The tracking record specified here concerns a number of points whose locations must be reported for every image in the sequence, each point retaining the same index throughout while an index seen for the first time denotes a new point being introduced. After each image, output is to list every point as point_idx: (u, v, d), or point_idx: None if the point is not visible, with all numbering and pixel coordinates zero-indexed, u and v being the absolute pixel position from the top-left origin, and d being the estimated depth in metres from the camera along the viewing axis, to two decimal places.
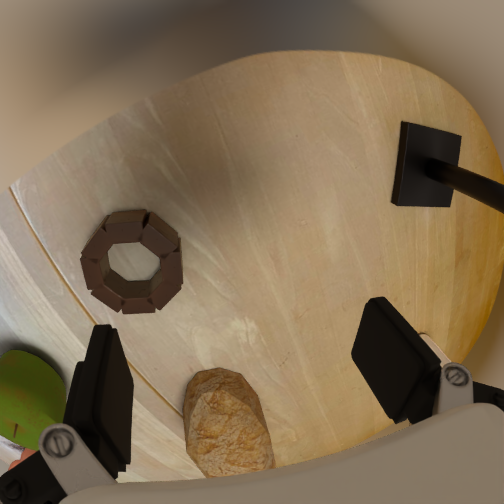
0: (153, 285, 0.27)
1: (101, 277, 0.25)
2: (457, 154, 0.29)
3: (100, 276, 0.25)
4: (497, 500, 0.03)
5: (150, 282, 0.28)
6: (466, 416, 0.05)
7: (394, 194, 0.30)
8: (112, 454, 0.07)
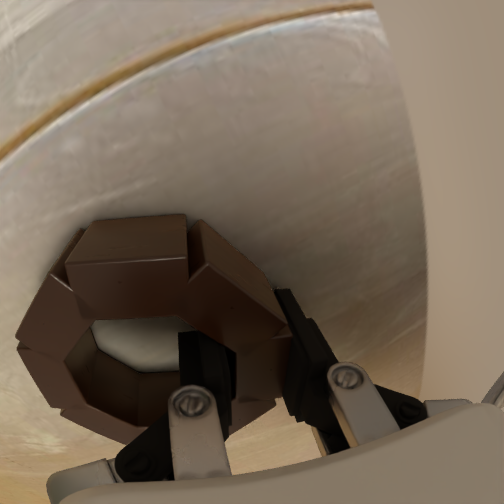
0: (108, 394, 0.10)
1: (119, 315, 0.08)
2: None
3: (123, 314, 0.08)
4: (497, 500, 0.03)
5: (99, 361, 0.11)
6: (466, 416, 0.05)
7: None
8: None
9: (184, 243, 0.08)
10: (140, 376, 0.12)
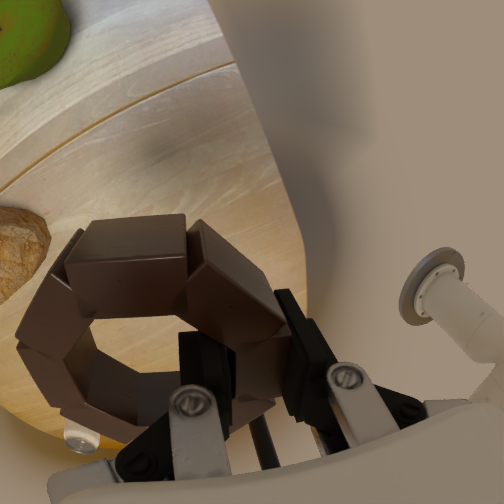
0: (108, 393, 0.10)
1: (118, 314, 0.08)
2: None
3: (122, 313, 0.08)
4: (497, 500, 0.03)
5: (98, 361, 0.11)
6: (466, 416, 0.05)
7: None
8: None
9: (183, 242, 0.08)
10: (140, 375, 0.12)
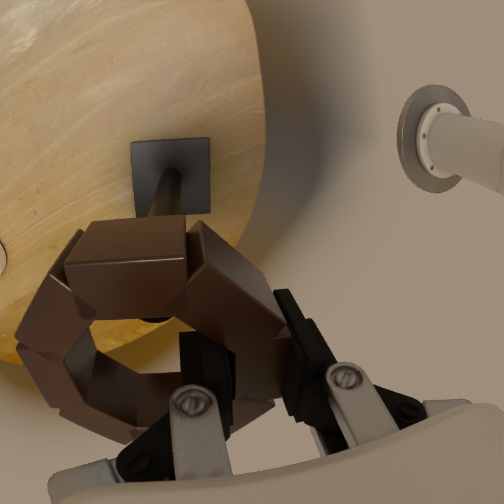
0: (108, 394, 0.10)
1: (118, 315, 0.08)
2: (190, 211, 0.36)
3: (122, 314, 0.07)
4: (497, 500, 0.03)
5: (98, 361, 0.11)
6: (466, 416, 0.05)
7: (140, 141, 0.32)
8: None
9: (183, 243, 0.08)
10: (139, 376, 0.12)
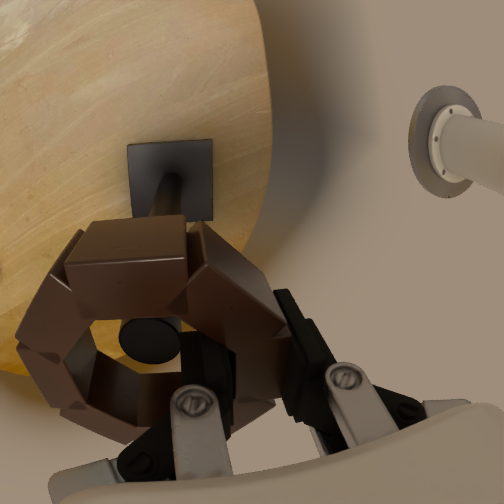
0: (108, 394, 0.10)
1: (118, 315, 0.08)
2: (191, 218, 0.34)
3: (122, 314, 0.08)
4: (497, 500, 0.03)
5: (98, 361, 0.11)
6: (466, 416, 0.05)
7: None
8: None
9: (183, 243, 0.08)
10: (140, 376, 0.12)
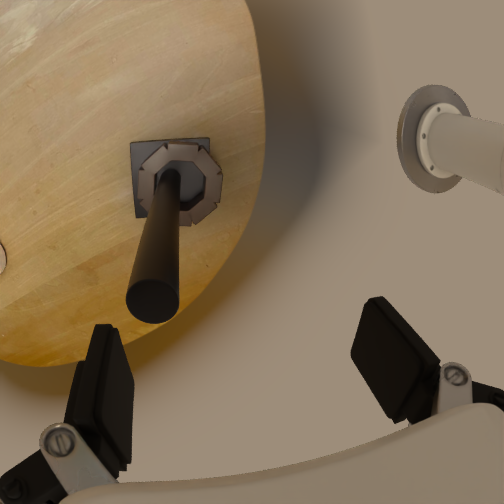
0: None
1: (177, 159, 0.30)
2: None
3: (179, 159, 0.30)
4: (497, 500, 0.03)
5: None
6: (466, 416, 0.05)
7: (140, 141, 0.32)
8: (113, 453, 0.07)
9: (197, 144, 0.31)
10: None
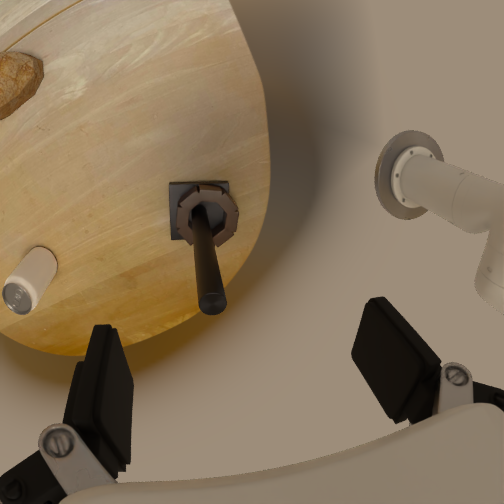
0: (191, 227, 0.46)
1: (206, 200, 0.43)
2: None
3: (207, 200, 0.43)
4: (497, 500, 0.03)
5: (188, 221, 0.47)
6: (466, 416, 0.05)
7: (176, 183, 0.45)
8: (112, 454, 0.07)
9: (221, 189, 0.44)
10: None
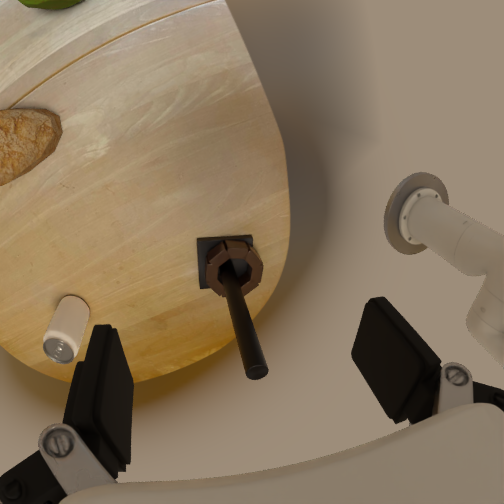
0: (220, 279, 0.50)
1: (234, 257, 0.48)
2: None
3: (235, 257, 0.48)
4: (497, 500, 0.03)
5: None
6: (466, 416, 0.05)
7: (203, 238, 0.50)
8: (112, 453, 0.07)
9: (247, 246, 0.48)
10: None
